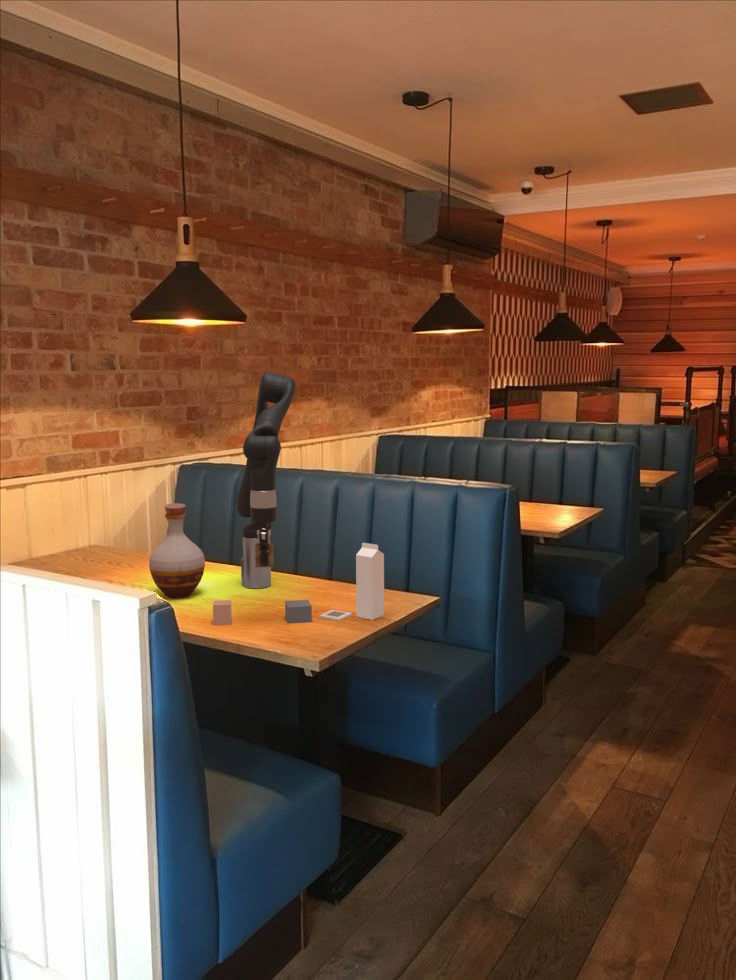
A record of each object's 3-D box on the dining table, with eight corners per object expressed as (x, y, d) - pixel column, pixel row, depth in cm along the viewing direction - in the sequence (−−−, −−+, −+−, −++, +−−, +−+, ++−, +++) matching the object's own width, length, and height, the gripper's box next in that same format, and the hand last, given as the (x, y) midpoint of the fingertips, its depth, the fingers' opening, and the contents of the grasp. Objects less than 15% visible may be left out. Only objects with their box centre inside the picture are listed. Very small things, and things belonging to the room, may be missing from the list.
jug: (143, 591, 279) (139, 502, 274) (196, 584, 287) (193, 498, 283) (157, 605, 261) (153, 510, 257) (212, 597, 269) (209, 506, 265)
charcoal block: (287, 624, 241) (287, 607, 240) (285, 617, 248) (284, 601, 247) (311, 622, 243) (311, 605, 242) (308, 615, 249) (308, 599, 249)
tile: (319, 617, 247) (319, 614, 247) (332, 611, 253) (332, 609, 253) (339, 620, 243) (339, 618, 243) (351, 614, 249) (351, 612, 249)
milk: (368, 612, 252) (368, 540, 249) (384, 615, 248) (384, 543, 246) (356, 616, 247) (355, 544, 244) (372, 620, 244) (371, 546, 241)
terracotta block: (213, 625, 240) (212, 605, 239) (214, 620, 245) (213, 600, 244) (231, 624, 240) (230, 604, 240) (231, 619, 245) (231, 600, 245)
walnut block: (255, 567, 239) (255, 546, 238) (256, 563, 244) (255, 543, 243) (273, 566, 239) (272, 546, 239) (273, 563, 244) (272, 542, 244)
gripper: (276, 508, 233) (277, 568, 235) (276, 501, 247) (277, 557, 249) (249, 509, 232) (250, 569, 234) (251, 501, 246) (252, 558, 248)
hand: (264, 562), depth 242 cm, fingers closed on walnut block, 5 cm apart
